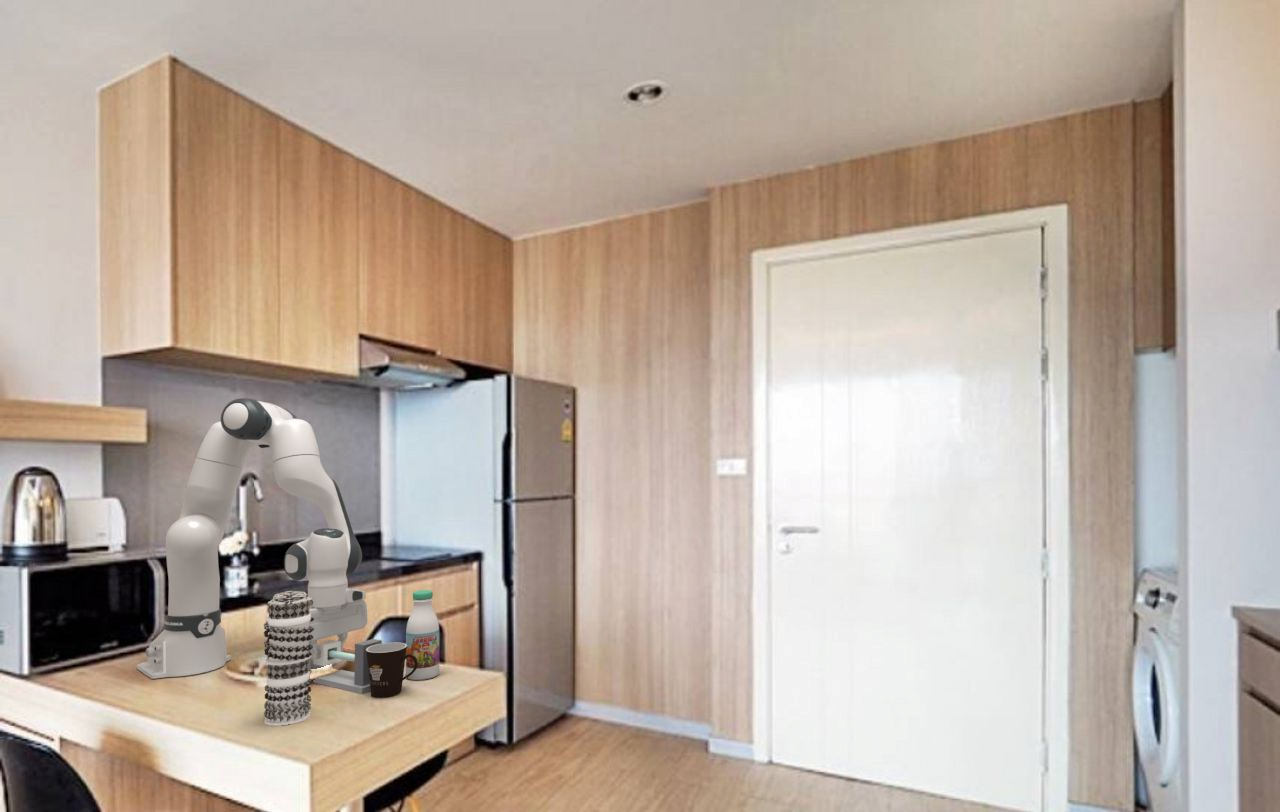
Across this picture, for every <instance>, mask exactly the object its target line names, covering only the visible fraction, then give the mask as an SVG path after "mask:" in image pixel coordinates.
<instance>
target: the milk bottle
mask: <svg viewBox="0 0 1280 812" xmlns="http://www.w3.org/2000/svg"><path fill="white" fill-rule="evenodd" d="M433 594H434V593H433V591H432V590H430V589H421V590H416V591H414V592H413V593H412V602H413V606H412V610H411V613H410V615H409V618H408V620H407V623H406V631H405V644H406V645H407V649H406V655H409V654H410V655H413V656H415V657H416V659H417V662H418V666H417V669H416V670H415V672H414V673H413V674H412V675H410V676H409V677H408V678H407V679H408V680H411V681H424V680H429V679H432V678H435V677H437V676H438V675H439V673H440V625H439V620H438V617H437V615H436V613H435V611H434V610H435V609H434V608H433V603H432V602H433V596H434V595H433ZM414 667H415V662H414V660H413V659H412V658H410V657H407V658H406V659H405V676H406V675H408V674H409V673H410V672H412V670H413V669H414Z"/></svg>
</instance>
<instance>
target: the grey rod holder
mask: <svg viewBox="0 0 1280 812" xmlns="http://www.w3.org/2000/svg"><path fill="white" fill-rule="evenodd" d="M382 643H383V640H382V639H376V638H372V639H368V640H365V641H364V640H363V641H360V642H356V643H354V653H350V652H344V651H343V652H340V651H335V650H329V649H328V657H332V658H337V659H341V661H342V660H343V661H348V662H353V663H354V671H349V670H344V669H341V670H340V671H338V672H335V673H332V674H329V675H326V676H322V677H319V678H316V679H315V680H313V682H314V684H319V685H322V686H323V685H324V686H327V687H332V688H336V689H340V690H344V691H349V692H353V693H357V694H361V695H362V694H363V695H364V694H366V693H369V692H371V691H370V682H369V673H368V664H367V655H366V649H367V648H368V647H370V646H373V645H376V644H382ZM309 652H310V650H309ZM310 653H311V652H310ZM321 667H324V666H320V665H316V664H313V659H311V658H310V659H309V667H308V668H309V670H310V669H317V668H321ZM313 682H312V683H313Z"/></svg>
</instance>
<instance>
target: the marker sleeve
mask: <svg viewBox="0 0 1280 812" xmlns="http://www.w3.org/2000/svg"><path fill="white" fill-rule="evenodd" d="M315 647H316V649H317V650H318V651H321V654H320V655H321V658H319V659H316V660H313V664H316V665H320V666H326V665H330V664H336V663H340V662H342V659H337V658H332V657H328V649H329V650H335V651H340V652H341V642H340V641H338V640H335V639H328V640H325V641H321V642H317V645H315Z"/></svg>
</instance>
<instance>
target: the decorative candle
mask: <svg viewBox="0 0 1280 812" xmlns="http://www.w3.org/2000/svg"><path fill="white" fill-rule="evenodd" d="M311 599H312V598H311V597H308V593H306V592H305V591H304V590H289V591H283V592H282V591H281V592H277V593H276V594H274V596H272V598H271V600H270V601H268V602H267V604H268V616H267V621H266V622H264V623H263V628H264V631H263V636H264V637H265V638H266V640H265V641H264V642H263V643H264V647H265V649H264V654H265V656H266V657H267V658H266V659H265V660H264V661H265V664H266V665H267V676H266V685H265V686H264V691H265V692H266V693H265V694H264V699H265V700H266V701H265V702H264V704H263V707H264V712H263V715H264V717H265V718H264V724H265V725H266V726H269V727H270V726H271V727H281V726H282V725H285V726H289V725H288V724H290V725H294V724H297V723H300V722H304V721H305V720H307V719H309V718H310V717H311V715H312V714H311V711H310V710H311V708H312V704H311V703H310V702H312V696H311V695H309V694H310V693H311V692H312V687H311V686H310V685H311V684H312V682H311V679H310V671H309V668H308V667H309V659H310V658H311V657H312V654H311V653H310V652H309V650H311V649H312V648H313V646H312V645H310V644H309V640H311V639H313V636H312V635H311V634H309V633H311V632H312V631H313V630H314V628H312V627H311V626H309V621H310V622H312V621H313V620H314V618H313V617H312V618H311V613H310V612H309V609H310V604H309V602H310V600H311ZM282 727H283V726H282Z"/></svg>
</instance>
